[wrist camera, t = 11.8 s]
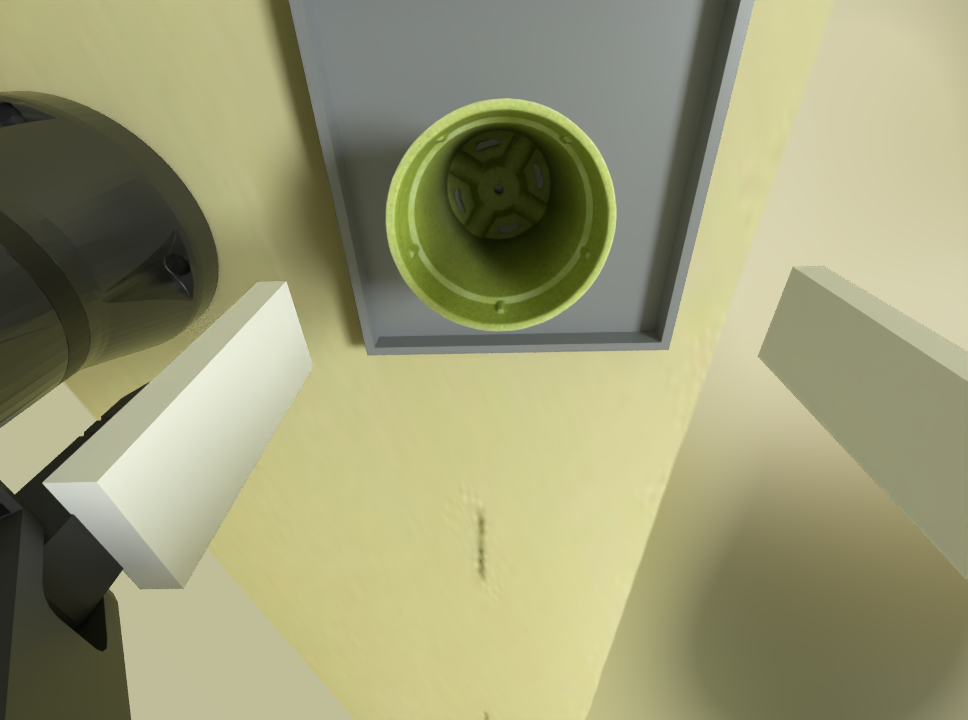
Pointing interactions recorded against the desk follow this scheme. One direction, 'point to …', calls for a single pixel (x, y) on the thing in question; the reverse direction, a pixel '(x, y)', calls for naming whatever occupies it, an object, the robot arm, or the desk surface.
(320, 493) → the desk surface
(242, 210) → the desk surface
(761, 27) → the desk surface
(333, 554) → the desk surface
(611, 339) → the tray
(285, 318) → the robot arm
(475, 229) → the plant pot
